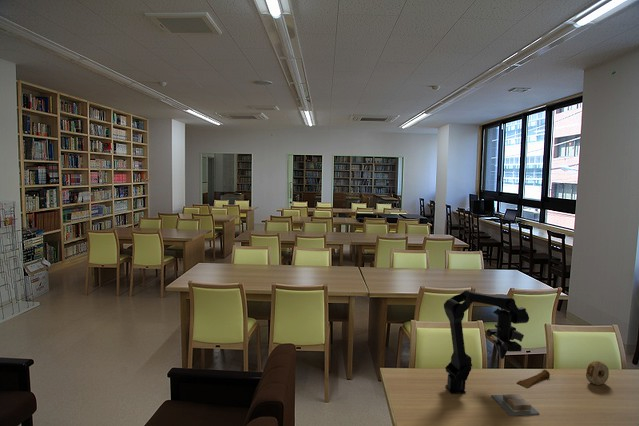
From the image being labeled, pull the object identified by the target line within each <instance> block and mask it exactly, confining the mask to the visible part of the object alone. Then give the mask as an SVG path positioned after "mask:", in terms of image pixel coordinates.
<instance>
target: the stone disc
mask: <svg viewBox="0 0 639 426" xmlns="http://www.w3.org/2000/svg"><path fill="white" fill-rule="evenodd" d="M609 375H610V373H609V367H608V365H606V363H604V362H602V361H599V360H595V361H592V362H590V363H589V364H588V366H587V367H586V373H585V376H586V379H587V381H588V382H589V383H590V384H592V385H597V386H599V385H600V386H601V385H602V384H605V383H607V381H608V379H609Z"/></svg>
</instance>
